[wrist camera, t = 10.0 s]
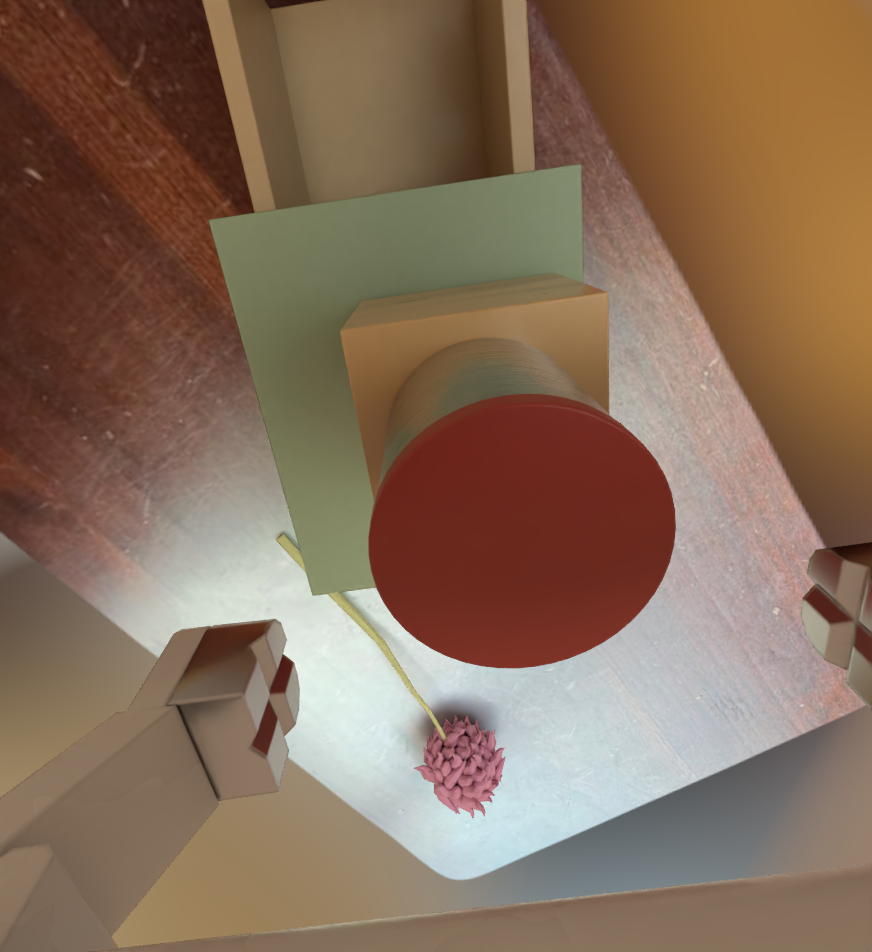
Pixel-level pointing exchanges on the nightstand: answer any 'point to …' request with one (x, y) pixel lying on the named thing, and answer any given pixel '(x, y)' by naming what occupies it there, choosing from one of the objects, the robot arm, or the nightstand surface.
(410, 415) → the tin
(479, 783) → the artificial flower
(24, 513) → the nightstand surface
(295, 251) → the cabinet
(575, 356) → the riser
